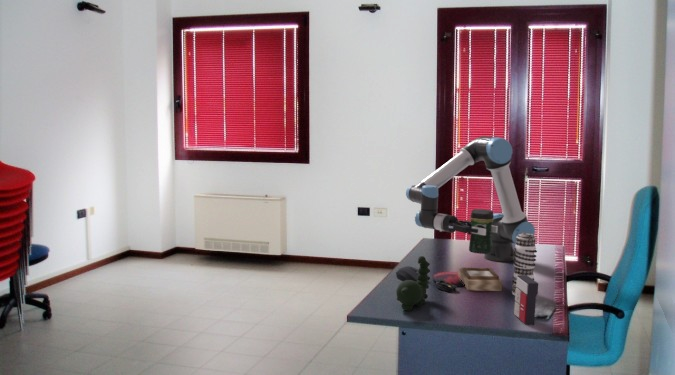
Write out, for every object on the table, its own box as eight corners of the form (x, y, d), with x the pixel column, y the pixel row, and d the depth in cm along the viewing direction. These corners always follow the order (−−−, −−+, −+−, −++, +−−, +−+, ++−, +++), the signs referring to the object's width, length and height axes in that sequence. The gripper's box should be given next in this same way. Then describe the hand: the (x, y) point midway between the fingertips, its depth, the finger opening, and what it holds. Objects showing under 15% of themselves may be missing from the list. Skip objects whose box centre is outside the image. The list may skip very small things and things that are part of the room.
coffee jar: (493, 251, 274) (496, 209, 272) (489, 255, 267) (492, 211, 265) (471, 249, 278) (473, 207, 276) (466, 252, 271) (469, 209, 269)
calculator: (512, 314, 234) (515, 274, 232) (524, 314, 234) (526, 274, 232) (524, 325, 223) (526, 283, 221) (536, 324, 224) (538, 283, 222)
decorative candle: (535, 292, 263) (539, 233, 260) (532, 298, 255) (536, 237, 251) (512, 289, 267) (516, 230, 264) (509, 295, 258) (512, 234, 255)
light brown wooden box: (489, 277, 284) (490, 266, 284) (501, 290, 264) (502, 278, 264) (458, 277, 284) (458, 265, 283) (467, 290, 264) (468, 278, 264)
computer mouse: (403, 274, 288) (404, 262, 287) (463, 290, 265) (463, 277, 264) (389, 278, 282) (390, 266, 281) (449, 294, 258) (449, 281, 258)
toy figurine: (411, 300, 254) (388, 312, 232) (414, 253, 254) (391, 260, 231) (434, 303, 250) (413, 316, 228) (437, 256, 249) (416, 263, 227)
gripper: (459, 228, 292) (503, 236, 276) (431, 234, 277) (477, 243, 261) (460, 212, 291) (504, 219, 275) (432, 217, 276) (478, 224, 260)
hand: (491, 230), depth 268 cm, fingers closed on coffee jar, 8 cm apart
